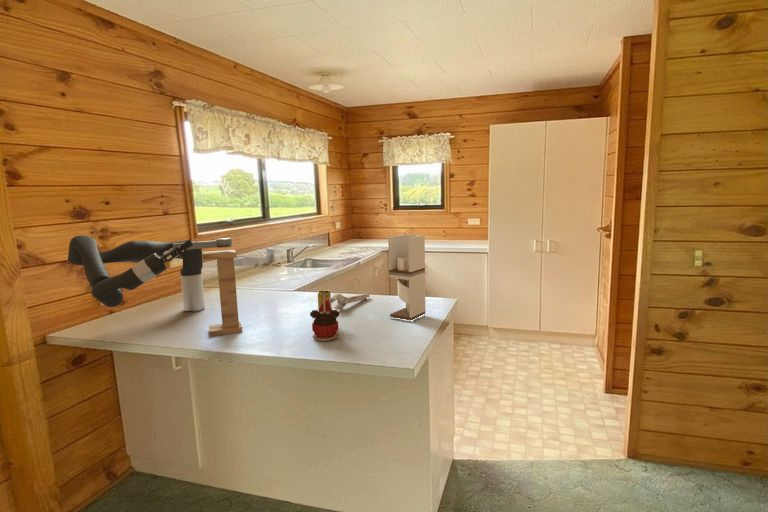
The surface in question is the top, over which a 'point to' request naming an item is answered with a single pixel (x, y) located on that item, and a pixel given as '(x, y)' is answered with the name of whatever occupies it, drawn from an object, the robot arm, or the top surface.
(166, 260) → the robot arm
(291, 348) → the top surface
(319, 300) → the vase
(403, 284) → the beige cubby tower
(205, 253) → the shelf stand
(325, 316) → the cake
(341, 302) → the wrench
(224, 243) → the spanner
